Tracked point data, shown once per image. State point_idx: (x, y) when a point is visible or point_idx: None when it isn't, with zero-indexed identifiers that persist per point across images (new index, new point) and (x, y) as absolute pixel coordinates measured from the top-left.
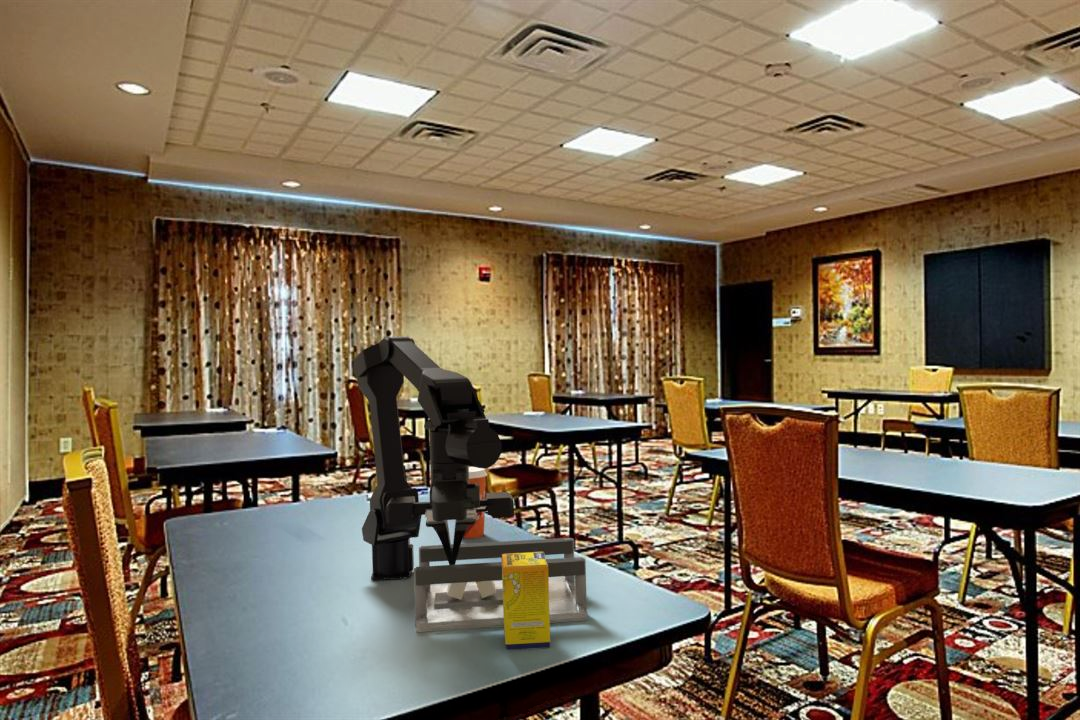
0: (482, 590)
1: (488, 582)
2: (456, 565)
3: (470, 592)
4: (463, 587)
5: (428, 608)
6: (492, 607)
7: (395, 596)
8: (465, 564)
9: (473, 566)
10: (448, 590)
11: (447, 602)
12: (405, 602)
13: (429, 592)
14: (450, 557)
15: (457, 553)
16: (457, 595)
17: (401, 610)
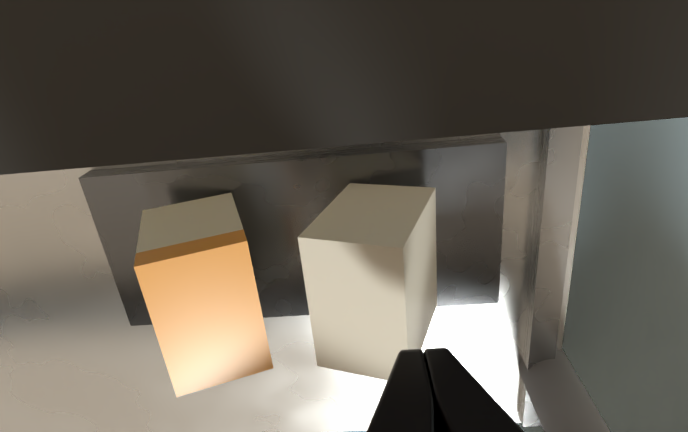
0: (216, 212)
1: (161, 237)
2: (361, 102)
3: None
4: (332, 214)
5: (533, 131)
6: None
7: (662, 375)
8: (250, 135)
9: (121, 29)
10: (430, 219)
11: (428, 158)
12: (624, 309)
13: (523, 344)
14: (448, 388)
15: (377, 417)
16: (371, 191)
17: (652, 218)
